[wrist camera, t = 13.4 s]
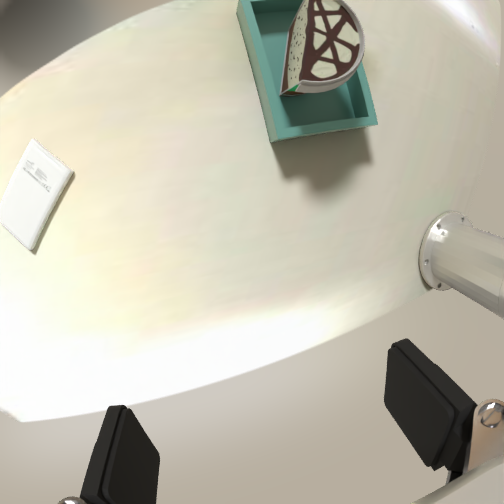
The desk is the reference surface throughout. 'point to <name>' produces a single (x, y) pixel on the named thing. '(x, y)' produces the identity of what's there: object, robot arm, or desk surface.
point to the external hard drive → (33, 193)
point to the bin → (270, 74)
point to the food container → (321, 48)
